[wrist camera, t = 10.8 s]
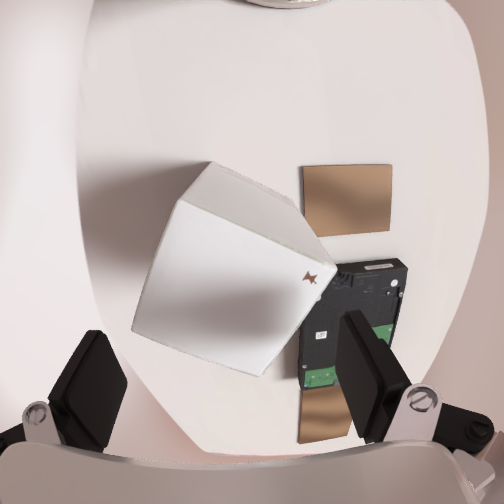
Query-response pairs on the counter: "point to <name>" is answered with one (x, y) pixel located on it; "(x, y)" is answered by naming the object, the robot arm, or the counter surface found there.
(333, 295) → the disk drive
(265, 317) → the supplement box
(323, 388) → the flat brown wooden pieces
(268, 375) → the counter surface
